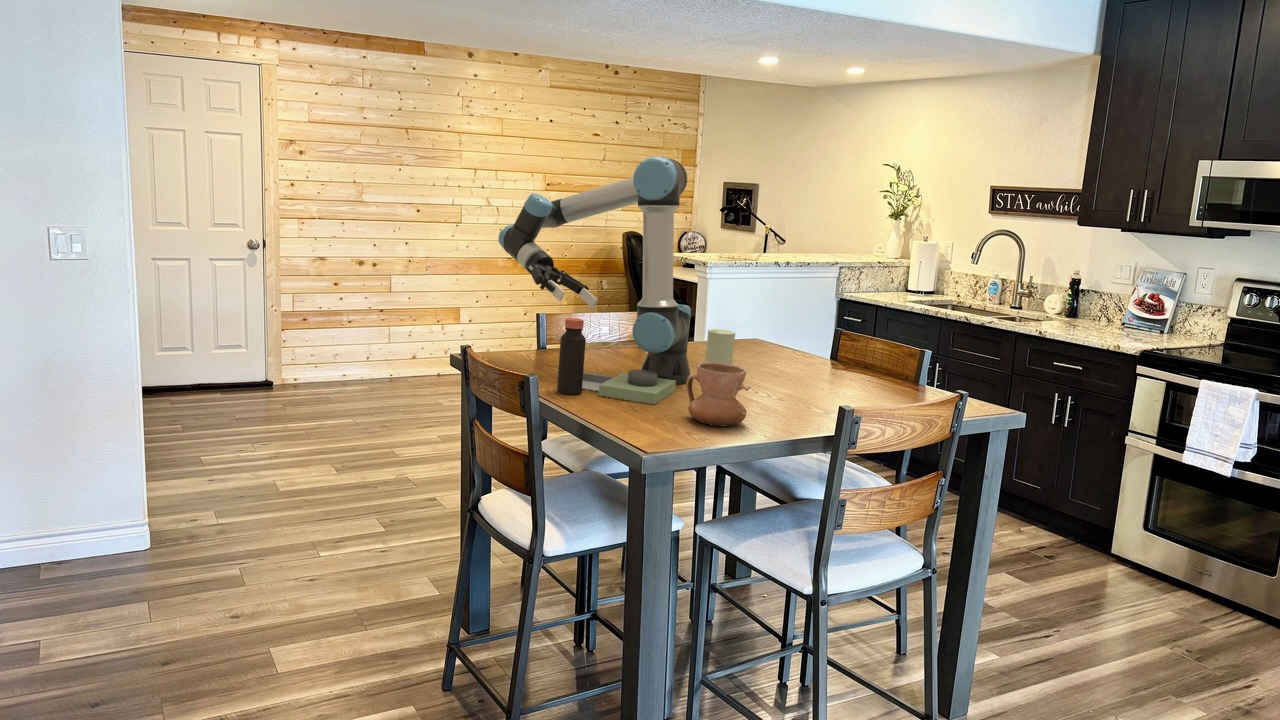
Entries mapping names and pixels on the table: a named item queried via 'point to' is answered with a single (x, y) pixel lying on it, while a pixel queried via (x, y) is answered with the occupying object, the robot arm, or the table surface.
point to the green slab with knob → (630, 386)
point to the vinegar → (571, 358)
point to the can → (720, 346)
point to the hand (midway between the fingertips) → (579, 300)
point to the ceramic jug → (717, 394)
